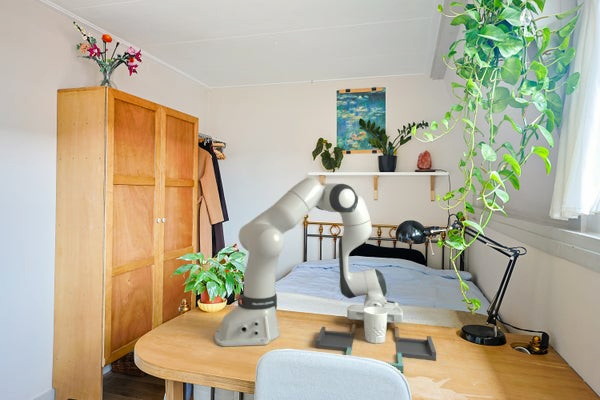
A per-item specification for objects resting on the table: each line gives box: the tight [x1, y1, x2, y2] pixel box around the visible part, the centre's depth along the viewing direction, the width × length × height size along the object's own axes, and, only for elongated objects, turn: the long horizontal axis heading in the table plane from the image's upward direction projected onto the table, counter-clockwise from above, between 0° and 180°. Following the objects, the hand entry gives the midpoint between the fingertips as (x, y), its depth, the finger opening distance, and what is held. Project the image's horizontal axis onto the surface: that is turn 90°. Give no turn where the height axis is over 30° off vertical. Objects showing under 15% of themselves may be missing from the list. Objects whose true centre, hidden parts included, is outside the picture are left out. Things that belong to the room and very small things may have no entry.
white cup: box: [363, 307, 388, 345], centre depth 123 cm, size 8×8×10 cm
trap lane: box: [315, 322, 437, 374], centre depth 118 cm, size 32×36×2 cm
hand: (374, 321), depth 126 cm, fingers closed, pressing on white cup
